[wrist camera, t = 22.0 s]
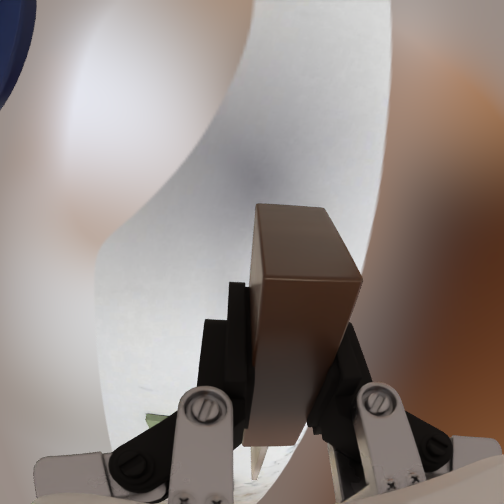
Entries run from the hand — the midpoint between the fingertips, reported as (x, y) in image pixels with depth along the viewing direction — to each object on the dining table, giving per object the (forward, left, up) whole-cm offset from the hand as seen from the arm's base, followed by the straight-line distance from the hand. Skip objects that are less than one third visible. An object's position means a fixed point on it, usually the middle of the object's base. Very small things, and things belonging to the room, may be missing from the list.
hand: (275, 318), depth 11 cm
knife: (0, -3, 0) cm, 3 cm away
